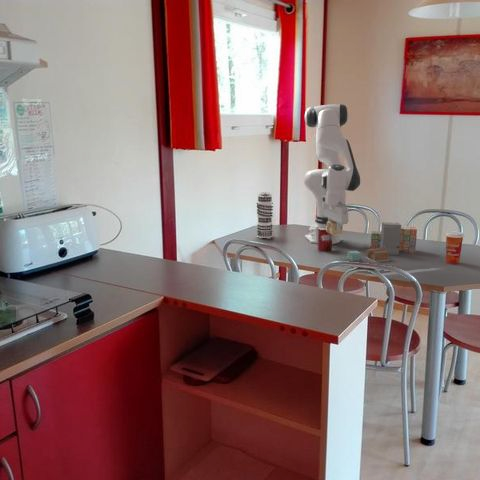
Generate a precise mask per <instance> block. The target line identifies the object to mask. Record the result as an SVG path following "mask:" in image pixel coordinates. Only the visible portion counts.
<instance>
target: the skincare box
mask: <svg viewBox="0 0 480 480" xmlns="http://www.w3.org/2000/svg"><path fill="white" fill-rule="evenodd" d="M401 226H402V224H400V223H399V222H385V221H383V222H381V229H380V231H381V243H380V248H381V249H384V250H386V251H388V256H389V255H391V256H392V255H393V256H396V255H400V250H399V248H400V236H401Z"/></svg>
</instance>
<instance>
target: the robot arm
mask: <svg viewBox="0 0 480 480" xmlns="http://www.w3.org/2000/svg"><path fill="white" fill-rule="evenodd" d="M349 115H350V114H349V111H348V107H347V105H345V104H341V103H339V104H323V105H322V104H321V105H316V106H310V107H307V109H306V111H305V113H304V121H305V123H306V126H307V127H308V128H316V132H315V148H316V149H315V151H316V158H317V159H318V161H319V162H320V163H323V164H324V165H326V168H322V169H321V168H318V169H312V170H308V171H307V172H306V173H305V175H304V177H303V179H304V180H303V182H304V185H305V187H306V188H307V189H308V190H309V192H311V193H312V195H313V196H314V199H315V200H316V215H315V220H314V222H313V224H312V225H310V227H309V228H308V231H307V232H308V234H305V235H304V237H305V238H306V240H308V242H309V243H310V244H311V243H312V244H318V228H319V227H327V222H328V221H336V222H337V227H336V229H335V230H336V231H340V227H341V225H342V224H343V225H347V224H348V223H349V209H348V207H347V206H346V199H347V198H346V197H347V194H346V191H348V192H354V191H355V190H357V189H358V188H359V187H360V186H361V185H360V184H361V175H360V172H359V170H358V168H357V165H356V161H355V157H354V155H353V150H352V147H351V143H350V142H349V140H348V139H346V138H345V137H344V136H343V134H342V132H341V128H342V127H343V126H344V125H346V123H347V122H348V119H349ZM339 155H340V156H342V157H343V161H344V164H345V166H344V165H343V163H342V162H341V160H340V157H339ZM341 235H342V234H334V235H333V240H332V245H334V244H339V243H340V242H341V241H343V240H344V239H343V237H341Z"/></svg>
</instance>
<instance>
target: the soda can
mask: <svg viewBox="0 0 480 480" xmlns="http://www.w3.org/2000/svg"><path fill="white" fill-rule="evenodd" d="M326 231H327V227H319V228H318V243H317V252H319V253H321V252H324V253H325V252H326V253H327V252H333V244H332V240H333V235H331V234H329V233H328V232H326Z"/></svg>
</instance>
